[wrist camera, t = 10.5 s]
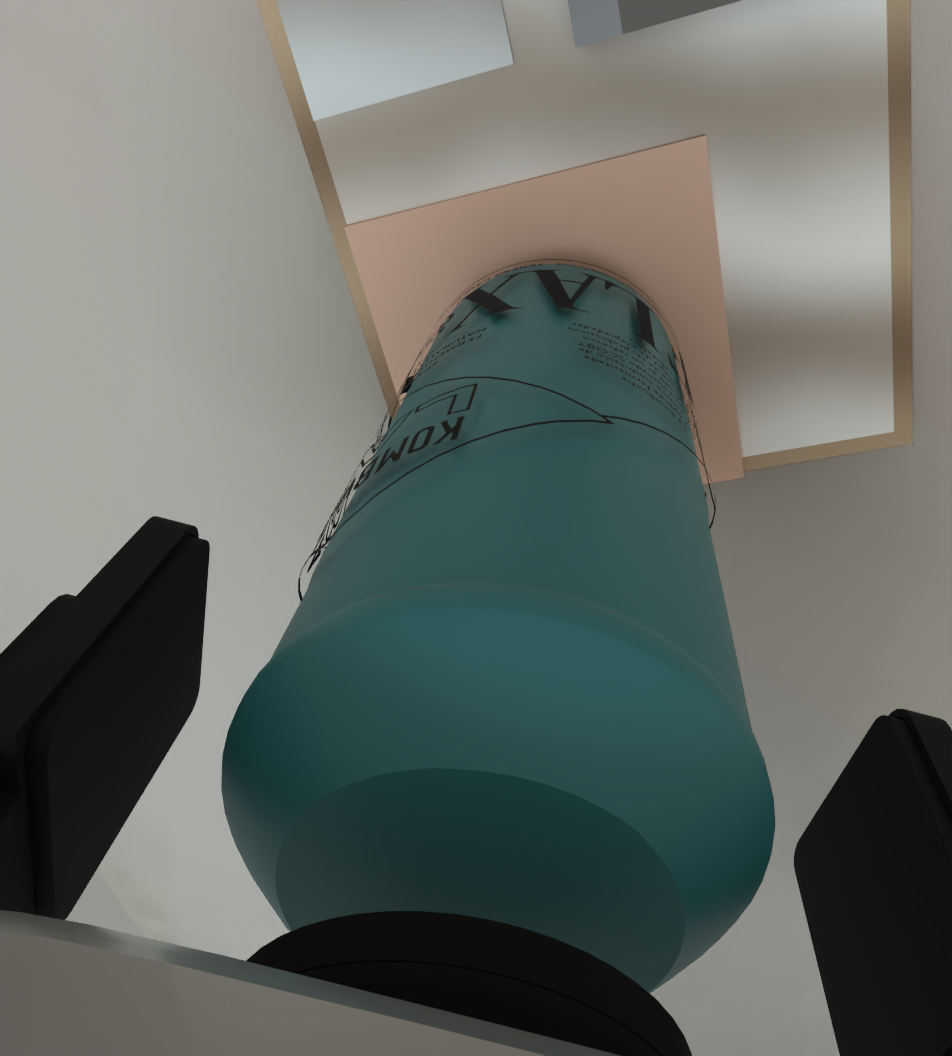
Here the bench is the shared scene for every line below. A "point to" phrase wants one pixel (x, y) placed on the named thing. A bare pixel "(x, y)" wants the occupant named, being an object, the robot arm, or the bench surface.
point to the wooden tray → (643, 122)
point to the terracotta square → (571, 234)
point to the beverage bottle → (513, 690)
